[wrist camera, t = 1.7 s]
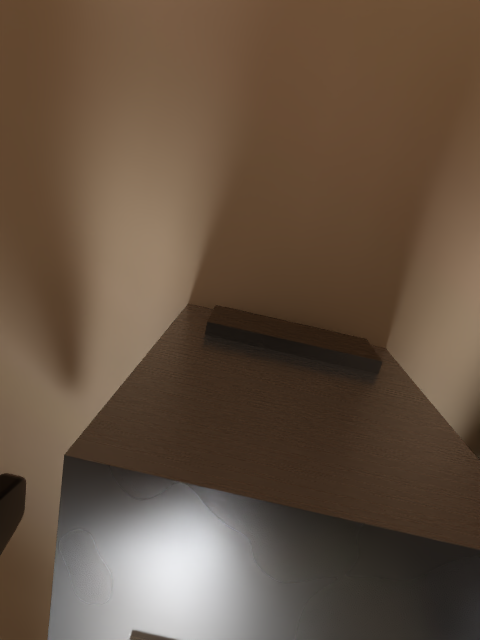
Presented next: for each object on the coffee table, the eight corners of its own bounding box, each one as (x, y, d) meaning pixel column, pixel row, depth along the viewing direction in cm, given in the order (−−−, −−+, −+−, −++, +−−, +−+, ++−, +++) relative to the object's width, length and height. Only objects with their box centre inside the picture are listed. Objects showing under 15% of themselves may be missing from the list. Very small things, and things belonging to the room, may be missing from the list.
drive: (294, 601, 11) (321, 984, 6) (141, 566, 11) (19, 914, 6) (387, 336, 8) (595, 559, 3) (190, 292, 8) (60, 437, 3)
